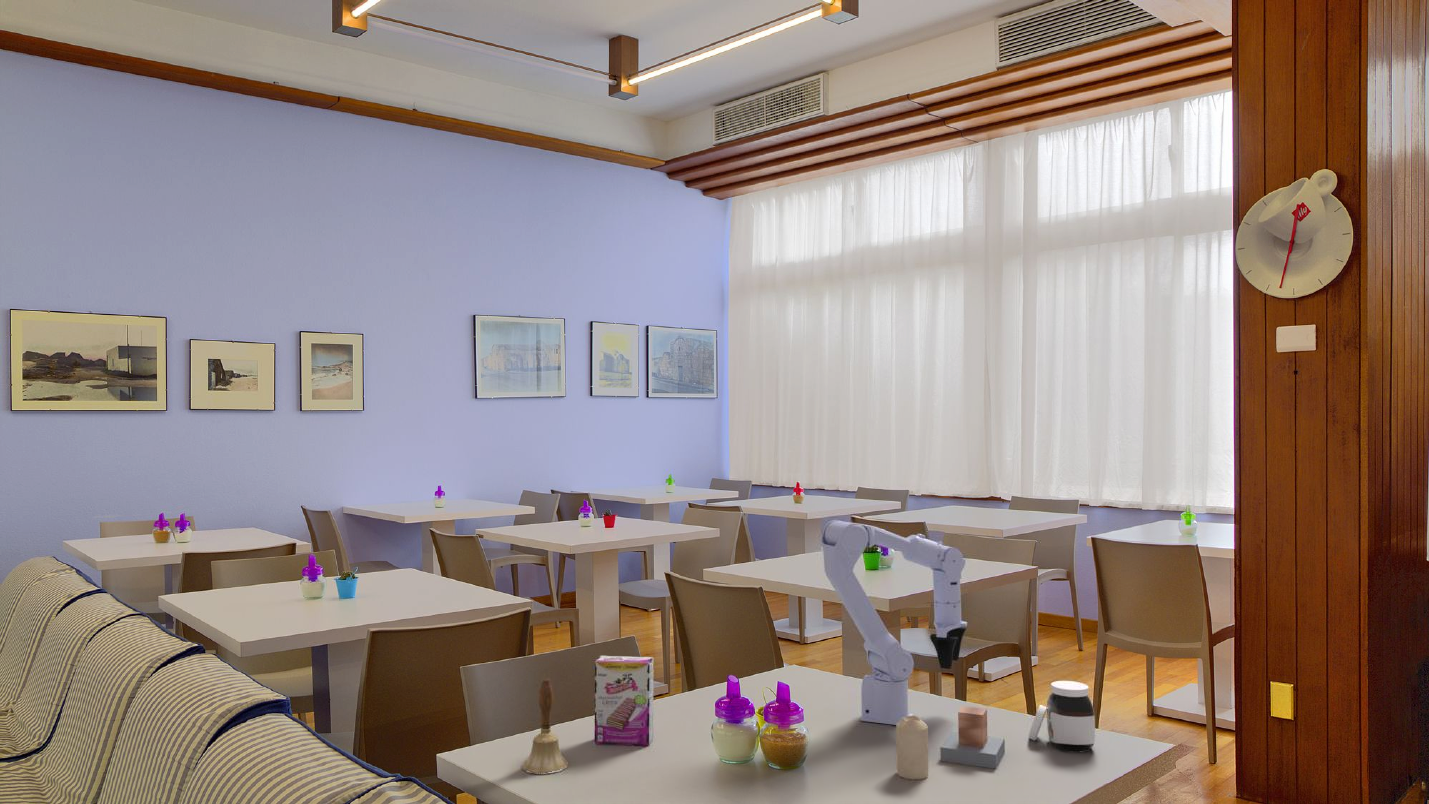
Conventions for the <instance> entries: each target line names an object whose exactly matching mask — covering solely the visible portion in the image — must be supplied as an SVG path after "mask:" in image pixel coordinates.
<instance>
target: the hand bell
mask: <svg viewBox="0 0 1429 804" xmlns="http://www.w3.org/2000/svg"><path fill="white" fill-rule="evenodd" d="M541 681H542V682H541V686H540V688H539V692H538V702H539V703H538V704H539V705H538V706H539V708H540V712H541V713H540V714H541V723H540V724H541V725H540V733H538V734H537V735H535V736H534V737H533V739H532V747H531V750H530V751H531V752H530V754H529V756H528V758H527V759H526V760H525V761H524V762H523V764H522V767H521V768H523V769H524V770H525V771H529V772H531V773H538V774H537V775H542V774H541V773H548V772H552V771H557V770H560V769H564V768H565V767H566V766H569V763H568V761H567V760H566V758H565V757H563V754H562V753H561V749H560V745H559V738H558V735H556V734H554V733H553V732H551V711H552V708H553V702H554V690H553V687H552V684H551V680H550V678H543V679H542V680H541ZM523 769H522V770H523ZM524 770H523V771H524ZM525 771H524V772H525ZM531 773H530V774H531ZM539 773H540V774H539Z"/></svg>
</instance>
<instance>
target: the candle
mask: <svg viewBox="0 0 1429 804" xmlns="http://www.w3.org/2000/svg"><path fill="white" fill-rule="evenodd" d="M895 727H896V729H895V730H896V731H895V732H896V733H895V734H896V735H895V737H896V773H897V775H898V776H899V777H901V778H903V779H907V780H915V779H917V780H923V779H926V778H928V777H929V727H928V725H927V724H926V723H925V722H924V721H923V720H922V719H921V718H919V717H918V716H917V715H914V716H906V717H905V718H902V719H901V720H900V721H899V722H898V723H897V725H895ZM927 776H928V777H927Z"/></svg>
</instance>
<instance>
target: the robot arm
mask: <svg viewBox="0 0 1429 804" xmlns="http://www.w3.org/2000/svg"><path fill="white" fill-rule="evenodd" d="M819 542H820V544H821V547H822V551H823V552H822V553H823V565H824V566H823V567H824V573H825V576H826V577H827V579H828V581H829V582H830V584H831V586H832V587H833V589H834V591H835V592H836V594H837V596H838V597H839V599H840V601H841V602H842V604H843V606H844V608H845V609H846V611H847V612H848V614H849V617H850V618H851V619H852V621H853V623H854V624H855V626H856V627H857V630H858V631H859V633H860V634H861V636H862V638H863V639H864V643H863V645H862V647H863V648H864V650H865V652H866V659H867V663H868V665H869V666H870V668H872V674H866V675H863V678H862V681H861V694H860V695H861V698H860V699H861V717H860V721H861V722H868V723H869V722H870V723H876V724H878V723H879V724H885V725H893V726H896V725H897V723H898V722H899V721H900V720H901V719H902V718H905V717H906V716H915V715H914V714H913V713H909V698H908V697H909V695H908V694H909V693H908V692H909V691H908V690H909V687H908V683H909V682H908V680H909V676H910V675H911V674H912V672H913V670H914V666H915V665H914V664H915V663H914V662H915V661H914V658H913V656H912V654H911V652H909V651H908V650H906V649H905V648H903V647H902V645H901V643H900V642H899V641H898V640H897V638H895V636H894V635H892V634H891V633H890V632H889V631H888V629H887V627H886V626H885V624H884V622H883V621H882V619H881V617H880V615H879V613H878V612H877V610H876V608H875V607H874V605H873V603H872V602H871V600H870V597H869V596H868V595H867V592H866V591H865V590H864V588H863V586H862V585H861V583H860V581H859V580H858V578H857V576H856V574H855V572H854V568H855V565H856V563H857V562H858V561H859V559H860V558H861V556H862V554H863V553H864V551H865V550H866V548H872V547H873V546H875V545H877V546H880V547H883V548H887V549H890V550H895V551H897V552H901V555H902V557H903V558H904V560H906V561H908V562H911V563H914V564H918V565H920V566H924V567H926V568H929V569H930V570H932V582H933V583H932V584H933V612H934V615H933V616H934V620H933V626H934V627H935V630H936V632H935V633H931V634H930V636H929V639H930V641H931V643H932V644H933V646H934V649H935V652H936V655H937V659H938V663H939V666H940V668H941V669H946V670H951V669H952V665H953V661H959V657H960V653H961V646H962V641H963V638H964V635H965V633H966V630H967V626H968V622H967V621H963V620H962V598H961V597H962V595H961V579H962V572H963V570H964V568H965V566H966V558H964V556H963V553H962V552H961V551H960V550H959V548H957V547H952V546H948V545H944V542H943V541H940V540H936V541H934V540H931V539H928V538H926V535H924V534H922V533H917V534H911V535H909V536H907V537H904V536H901V535H899V534H896V533H893V532H891V531H887V530H886V529H883V528H880V527H877V526H874V525H869V524H864V523H856V522H851V521H843V520H839V519H834V520H830V521H829V522H827V523H826V524H825V526H824V528H823V531H822V533H821V536H820V539H819Z"/></svg>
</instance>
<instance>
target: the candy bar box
mask: <svg viewBox="0 0 1429 804" xmlns="http://www.w3.org/2000/svg"><path fill="white" fill-rule="evenodd" d="M654 663H655V662H654V657H652V656H651V657H650V656H626V655H625V656H623V655H599V656H598V658H597V659H596V660H595V662H594V744H595V745H612V744H622V745H621V746H645V747H646V746H650V744H651V742H652V741H653V739H654V672H655V671H654Z"/></svg>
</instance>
